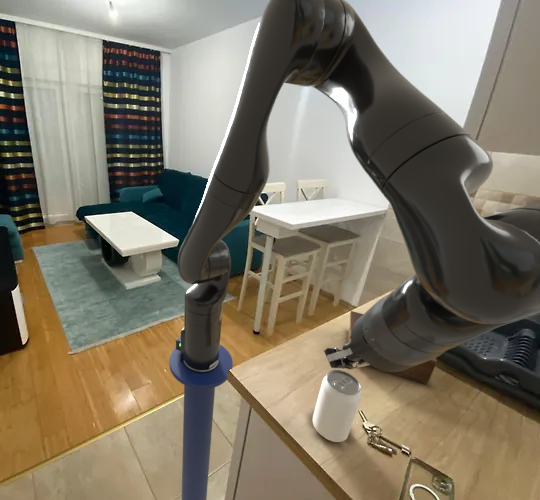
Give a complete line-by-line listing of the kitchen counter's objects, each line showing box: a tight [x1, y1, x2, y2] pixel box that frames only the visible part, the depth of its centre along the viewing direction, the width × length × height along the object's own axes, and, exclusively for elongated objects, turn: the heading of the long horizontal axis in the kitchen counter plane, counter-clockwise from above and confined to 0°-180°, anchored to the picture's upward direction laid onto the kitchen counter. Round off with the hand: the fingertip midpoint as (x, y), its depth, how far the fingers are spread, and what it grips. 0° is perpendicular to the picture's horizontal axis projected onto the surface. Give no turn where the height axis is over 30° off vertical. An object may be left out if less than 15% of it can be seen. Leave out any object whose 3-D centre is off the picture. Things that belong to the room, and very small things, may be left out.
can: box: [312, 369, 362, 443], centre depth 54 cm, size 6×6×12 cm
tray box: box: [347, 327, 437, 385], centre depth 75 cm, size 17×13×6 cm
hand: (349, 362), depth 48 cm, fingers closed
